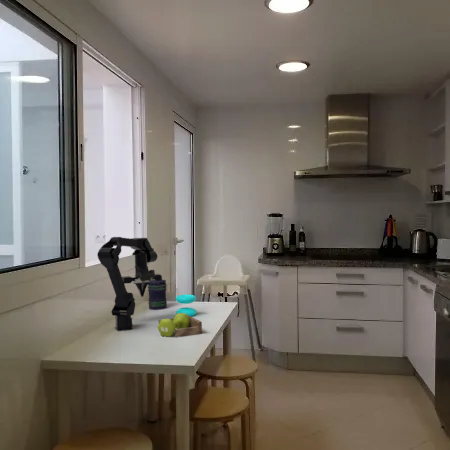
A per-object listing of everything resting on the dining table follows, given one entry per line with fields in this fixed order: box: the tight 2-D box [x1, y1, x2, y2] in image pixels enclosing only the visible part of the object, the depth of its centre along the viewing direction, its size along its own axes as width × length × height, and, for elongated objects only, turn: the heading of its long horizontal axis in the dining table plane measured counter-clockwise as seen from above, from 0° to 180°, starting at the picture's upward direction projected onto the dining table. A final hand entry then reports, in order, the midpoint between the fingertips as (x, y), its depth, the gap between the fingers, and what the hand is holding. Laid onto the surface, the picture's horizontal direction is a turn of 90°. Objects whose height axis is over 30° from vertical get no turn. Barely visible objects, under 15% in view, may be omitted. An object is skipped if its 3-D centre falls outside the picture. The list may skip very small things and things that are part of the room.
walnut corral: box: [158, 315, 203, 338], centre depth 218 cm, size 12×22×5 cm, turn 26°
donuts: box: [175, 293, 197, 317], centre depth 250 cm, size 10×10×10 cm
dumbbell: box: [157, 313, 190, 338], centre depth 214 cm, size 16×8×7 cm, turn 155°
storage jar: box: [147, 279, 168, 311], centre depth 271 cm, size 10×10×15 cm
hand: (142, 296), depth 238 cm, fingers closed
